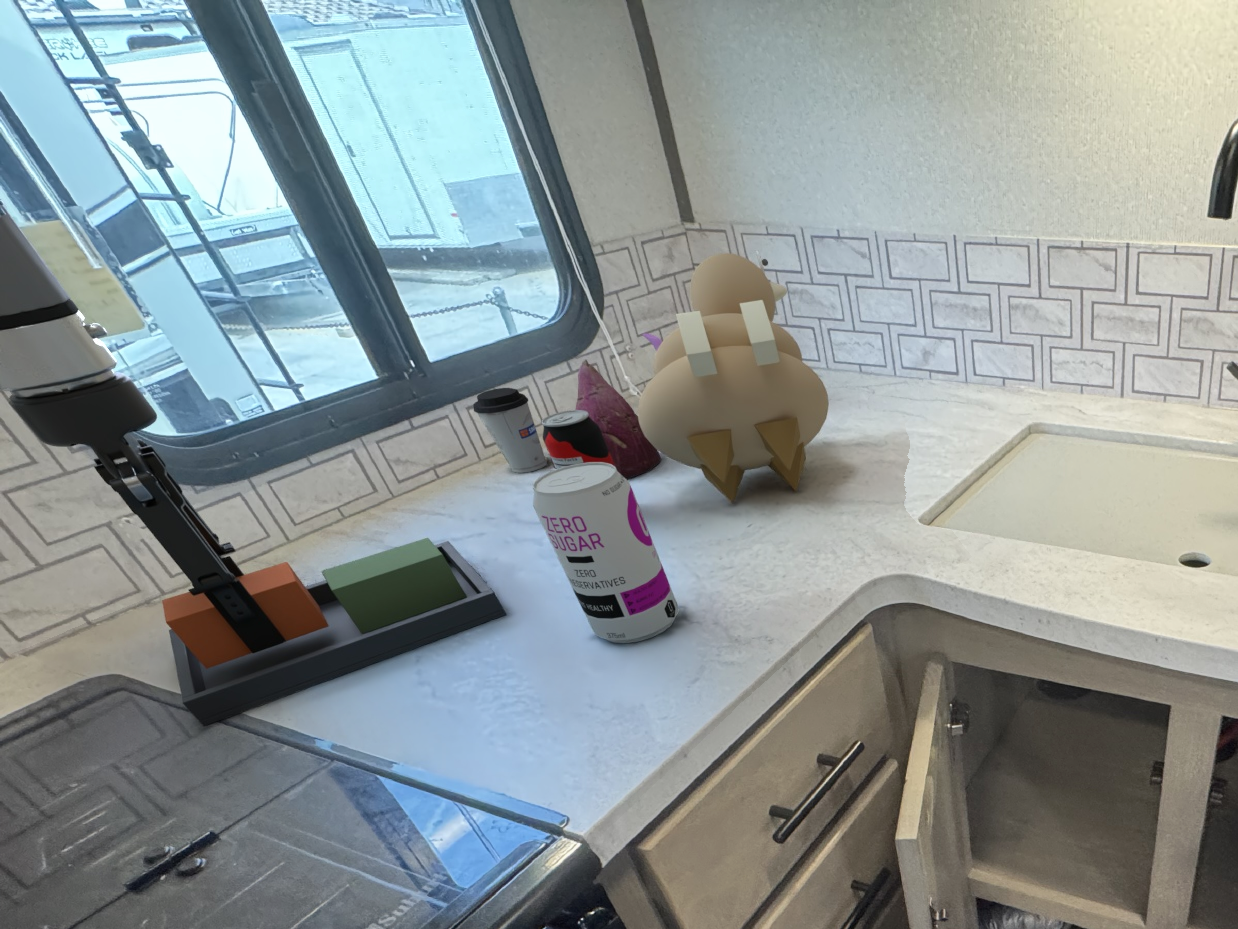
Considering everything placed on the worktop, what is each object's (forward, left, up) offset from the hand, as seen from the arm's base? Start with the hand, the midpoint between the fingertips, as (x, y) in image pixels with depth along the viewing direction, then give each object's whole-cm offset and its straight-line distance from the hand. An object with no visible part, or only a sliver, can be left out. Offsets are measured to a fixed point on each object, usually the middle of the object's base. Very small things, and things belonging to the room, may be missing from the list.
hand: (264, 633), depth 81 cm
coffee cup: (-35, +35, -3) cm, 50 cm away
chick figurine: (-2, +54, -3) cm, 54 cm away
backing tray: (0, +6, -3) cm, 6 cm away
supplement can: (+22, +28, -3) cm, 35 cm away
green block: (0, +12, -2) cm, 12 cm away
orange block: (0, 0, 0) cm, 0 cm away
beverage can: (-8, +36, -3) cm, 37 cm away
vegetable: (-23, +44, -3) cm, 50 cm away
